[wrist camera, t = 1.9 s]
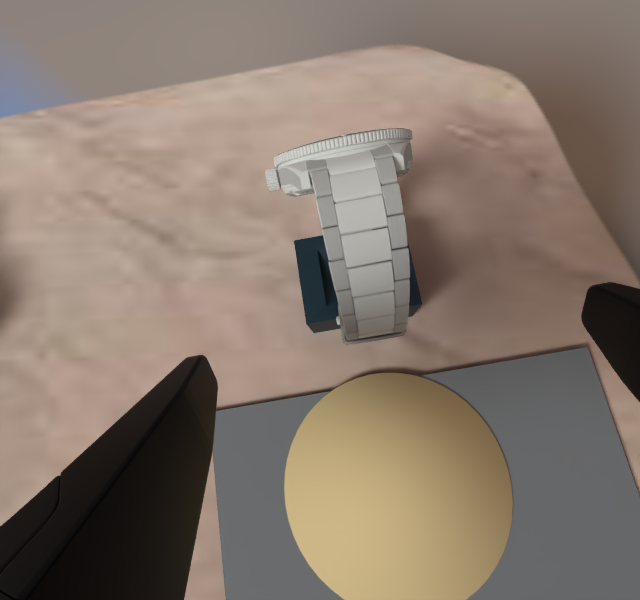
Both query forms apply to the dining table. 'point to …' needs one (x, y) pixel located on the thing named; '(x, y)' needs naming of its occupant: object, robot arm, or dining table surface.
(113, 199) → the dining table surface
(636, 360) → the robot arm
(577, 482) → the mat
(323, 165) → the watch
